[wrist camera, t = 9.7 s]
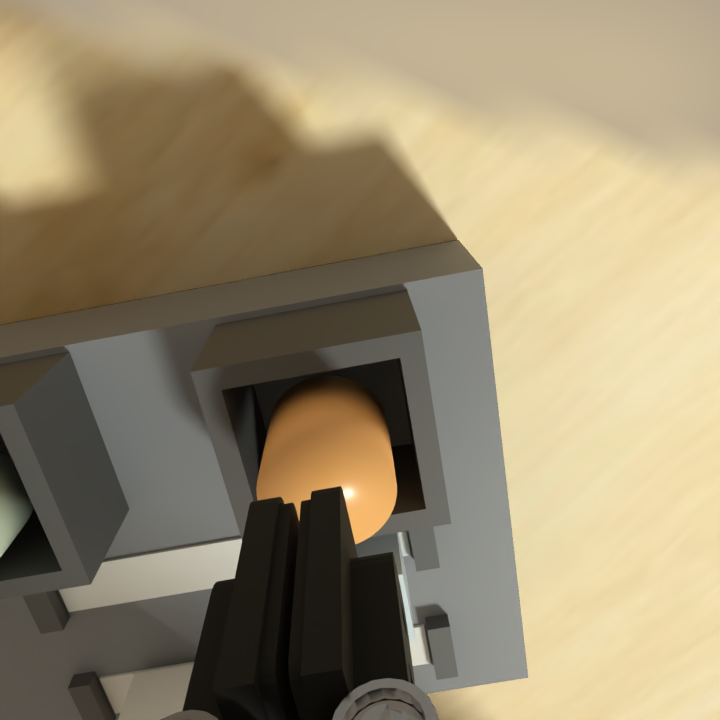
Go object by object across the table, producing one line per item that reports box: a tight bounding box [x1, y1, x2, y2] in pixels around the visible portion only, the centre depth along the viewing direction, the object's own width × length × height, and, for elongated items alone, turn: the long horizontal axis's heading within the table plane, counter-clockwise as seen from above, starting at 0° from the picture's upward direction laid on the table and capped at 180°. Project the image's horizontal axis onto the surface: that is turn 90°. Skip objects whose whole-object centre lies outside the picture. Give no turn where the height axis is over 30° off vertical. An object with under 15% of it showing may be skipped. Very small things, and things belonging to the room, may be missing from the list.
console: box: [0, 240, 528, 720], centre depth 22 cm, size 16×20×8 cm
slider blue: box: [355, 533, 416, 642], centre depth 20 cm, size 2×2×3 cm
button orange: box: [256, 376, 397, 544], centre depth 16 cm, size 3×3×3 cm
